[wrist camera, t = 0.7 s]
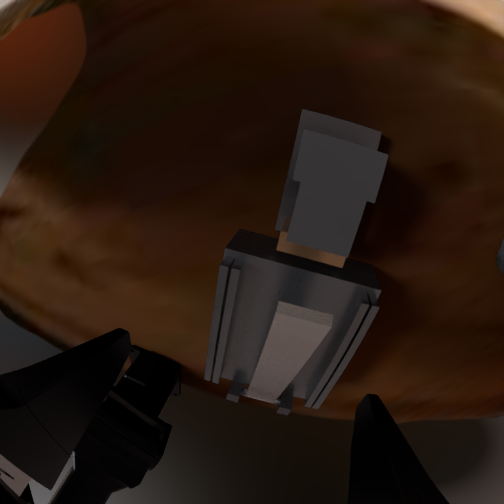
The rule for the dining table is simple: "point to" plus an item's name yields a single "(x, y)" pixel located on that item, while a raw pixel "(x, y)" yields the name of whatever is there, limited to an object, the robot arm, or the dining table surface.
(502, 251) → the camera
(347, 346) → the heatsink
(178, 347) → the dining table surface
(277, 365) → the light grey flat bar
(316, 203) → the clip
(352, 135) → the clip rail
